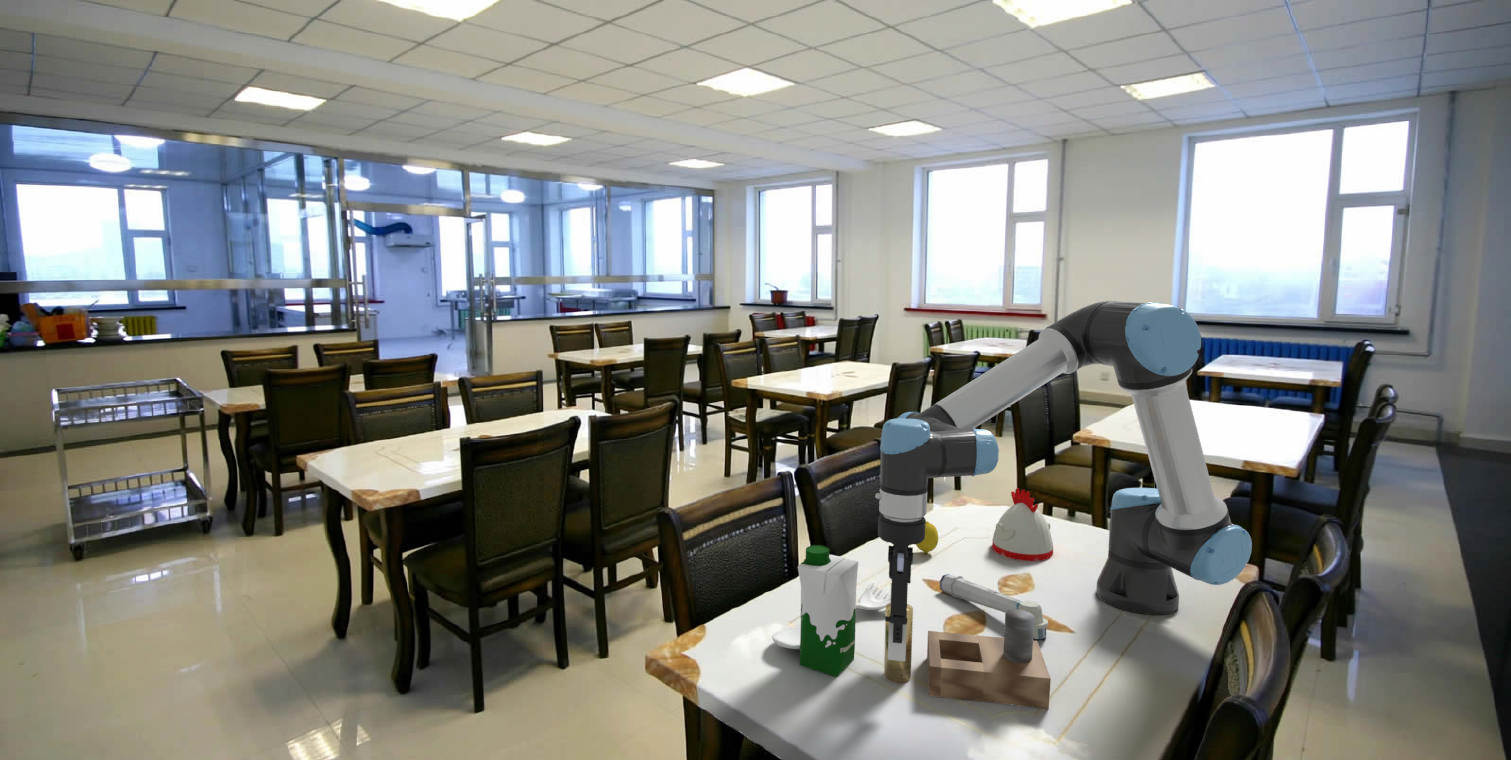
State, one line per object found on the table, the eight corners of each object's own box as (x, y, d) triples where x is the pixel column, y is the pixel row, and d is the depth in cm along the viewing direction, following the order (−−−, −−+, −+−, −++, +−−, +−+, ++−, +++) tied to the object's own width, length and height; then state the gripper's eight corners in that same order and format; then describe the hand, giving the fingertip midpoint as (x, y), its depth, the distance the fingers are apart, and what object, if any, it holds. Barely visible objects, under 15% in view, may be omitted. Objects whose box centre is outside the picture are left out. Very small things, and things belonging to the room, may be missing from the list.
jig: (1035, 668, 126) (1039, 601, 124) (1048, 708, 114) (1053, 635, 112) (927, 657, 129) (929, 592, 127) (928, 695, 118) (931, 624, 116)
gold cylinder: (910, 670, 125) (912, 603, 123) (910, 684, 121) (913, 614, 119) (884, 667, 126) (886, 600, 124) (883, 681, 122) (885, 612, 120)
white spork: (908, 606, 148) (908, 589, 147) (799, 663, 126) (798, 644, 126) (872, 596, 154) (872, 579, 154) (762, 648, 132) (761, 629, 132)
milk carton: (815, 645, 134) (817, 538, 131) (861, 658, 129) (864, 548, 126) (791, 666, 126) (792, 554, 123) (840, 681, 122) (842, 565, 119)
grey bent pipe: (954, 570, 158) (1053, 599, 136) (956, 601, 158) (1055, 635, 136) (936, 575, 155) (1033, 605, 133) (938, 607, 155) (1035, 642, 134)
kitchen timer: (1023, 537, 189) (1026, 480, 187) (1065, 555, 176) (1069, 494, 174) (980, 545, 183) (982, 486, 181) (1020, 564, 171) (1024, 502, 169)
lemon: (940, 557, 175) (941, 525, 174) (916, 557, 175) (917, 525, 174) (934, 549, 180) (935, 517, 179) (912, 549, 180) (913, 517, 179)
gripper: (881, 491, 132) (877, 604, 135) (875, 539, 108) (870, 675, 111) (924, 494, 131) (919, 608, 134) (928, 543, 107) (921, 681, 110)
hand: (897, 638), depth 122 cm, fingers open, 13 cm apart
